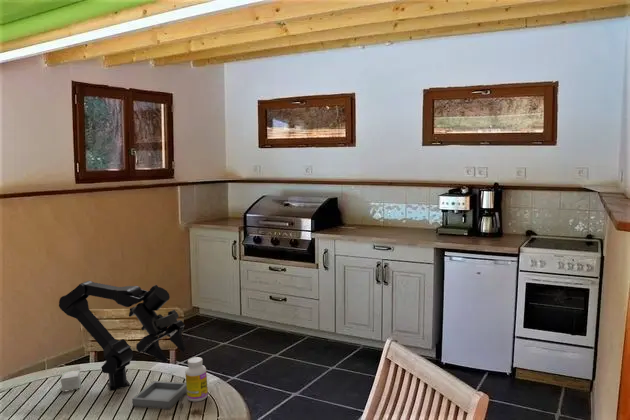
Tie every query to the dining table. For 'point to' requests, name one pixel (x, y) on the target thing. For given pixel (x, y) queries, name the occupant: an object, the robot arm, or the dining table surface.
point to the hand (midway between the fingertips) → (175, 356)
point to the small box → (71, 380)
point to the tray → (160, 395)
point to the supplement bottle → (196, 380)
